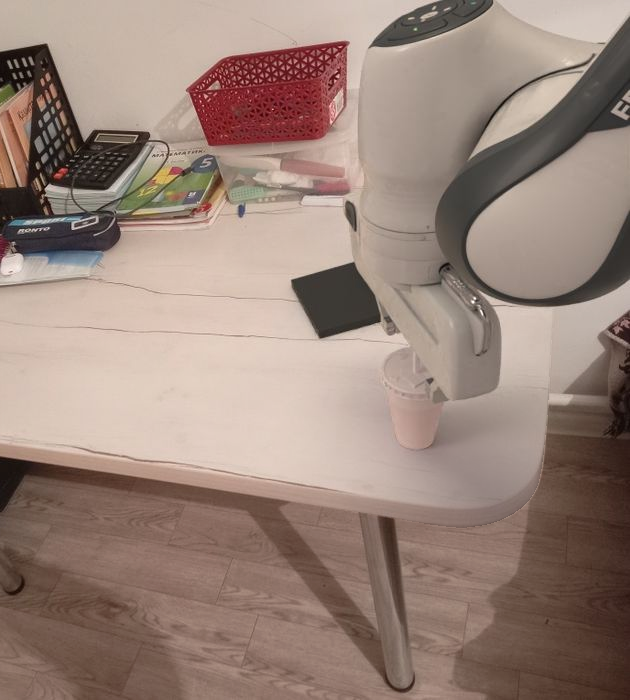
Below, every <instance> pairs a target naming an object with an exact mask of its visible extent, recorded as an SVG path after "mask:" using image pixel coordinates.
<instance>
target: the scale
mask: <svg viewBox="0 0 630 700" xmlns="http://www.w3.org/2000/svg"><path fill="white" fill-rule="evenodd" d="M290 284H291V288H292V290H293V292H294V294H295V295H296V297H297V300H298V301H299V303H300V305H301V306H302V308H303V310H304V312H305V315H306V316H307V318H308V319H309V322H310V323H311V325H312V327H313V329H314V331H315V332H316V334H317V337H318V338H319V339H323V338H327V337H330V336H333V335H337V334H341V333H345V332H348V331H351V330H354V329H355V330H356V329H359V328H362V327H365V326H369V325H373V324H378V323H381V314H380V311H379V308H378V304H377V301H376V297H375V295H374V293H373V292H372V290H371V289H370V288H369V286H368V285H367V283H366V282H365V280H364V279H363V278H362V276H361V275H360V273H359V272H358V270H357V268H356V265H355V263H354V261H352V262H348V263H345V264H341V265H338V266H334V267H331V268H327V269H324V270H320V271H316V272H313V273H309V274H306V275H303V276H298V277H296V278H295V277H294V278H292V279H290Z"/></svg>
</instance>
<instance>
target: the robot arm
mask: <svg viewBox="0 0 630 700" xmlns="http://www.w3.org/2000/svg"><path fill="white" fill-rule="evenodd" d="M357 106H358V107H357V155H358V160H359V164H360V166H361V168H362V172H363V185H362V188H361V189H357V190H355V191H352V192H349V193H346V194H344V195H343V196H342V211H343V215H344V217H345V218H346V220H347V222H348V230H349V240H350V246H351V254H352V255H351V256H352V259H353V262H354V263H355V265H356V268H357V270H358V272H359V273H360V275H361V276H362V278H363V279H364V280H365V282H366V283H367V285H368V286H369V288H370V289H371V290H372V292H373V293H374V295H375V297H376V301H377V304H378V308H379V311H380V314H381V321H380V326H381V328H382V329H383V331H384V332H385V333H386V335H387V336H389V337H390V336H391V337H392V336H394V335H396V334H397V335H399V334H401V335H402V336H403V337H404V339H405V340H406V342H407V343H408V345H409V347H412V349H413V350H414V352H415V353H416V355H417V356H418V357H419V359H420V360H421V362H422V363H423V365H424V366H425V367H426V369H427V370H428V372H429V373H430V374H431V376H432V378H429V379H426V380H425V386H426V388H425V391H426V393H427V394H428V396H429V397H430V399H431V401H432V402H433V403H435V404H437V403H441V402H444V403H446V402H448V401H452V402H457V401H463V400H464V401H465V400H469V399H473V398H478V397H481V396H484V395H486V394H490V393H491V392H493V391H495V390H496V389H497V388H498V387H499V384H500V379H501V367H502V365H501V364H502V349H503V347H502V344H503V343H502V339H503V337H502V328H501V327H502V326H501V321H500V318H499V315H498V313H497V311H496V309H495V308H494V307H493V305H492V304H491V302H490V301H489V300H488V299H487V298H486V297H485V296H484V295H486V296H488V297H490V298H492V299H495V300H498V301H500V302H503V303H507V304H512V305H517V306H522V307H533V308H555V307H566V306H570V305H577V304H582V303H587V302H590V301H593V300H595V299H596V300H597V299H598V298H601V297H604V296H607V295H608V294H610V293H612V292H614V291H616V290H618V289H619V288H621V287H622V286H623V285H625V284H626V283H628V282H629V281H630V11H629V12H628V14H627V15H626V16H625V18H624V19H623V20H622V21H621V23H620V24H619V25H618V26H617V28H616V29H615V30H614V32H613V33H612V34H611V35H610V37H609V38H608V39H607V41H606V42H591V41H587V40H581V39H576V38H572V37H568V36H565V35H564V36H563V35H560V34H557V33H554V32H550V31H549V30H545V29H542V28H540V27H537V26H535V25H532V24H530V23H528V22H526V21H524V20H522V19H520V18H518V17H516V16H515V15H513V14H512V13H510V12H509V11H508V10H507V9H505V7H504V6H503V5H502V4H500V2H498V0H437V1H433V2H430V3H427V4H425V5H421V6H419V7H417V8H415V9H414V10H412V11H410V12H407V13H405V14H402V15H400V16H399V17H397V18H396V19H395V20H393V21H392V22H391V23H390V24H388V25H387V26H386V27H385V28H384V29H383V30H381V32H380V33H378V34H377V36H376V37H375V38H374V39H373V41H372V42H371V44H370V45H368V48H367V49H366V51H365V54H364V57H363V61H362V65H361V71H360V79H359V89H358V105H357ZM482 293H483V294H484V295H483V294H482Z"/></svg>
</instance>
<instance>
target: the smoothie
mask: <svg viewBox="0 0 630 700" xmlns="http://www.w3.org/2000/svg"><path fill="white" fill-rule="evenodd" d="M380 366H381V367H380V381H381V383H382V385H383V387H384V388H385V390H386V395H387V399H388V405H389V409H390V414H391V419H392V424H393V430H394V434H395V439H396V440H397V442H398V443H399V445H401V446H402V447H404V448H406V449H408V450H414V451H419V450H424V449H427V448H428V447H430V446H431V445H432V444H433V443H434V441H435V438H436V434H437V430H438V428H439V427H438V426H439V424H440V419H441V415H442V412H443V408H444V404H445V402H441V403H437V404H435V403H433V402H432V401H431V399H430V397H429V396H428V394H427V393H426V391H425V388H426V386H425V380H426V379H429V378H432V376H431V374H430V373H429V372H428V370H427V369H426V367H425V366H424V365H423V363H422V362H421V360H420V359H419V357H418V356H417V355H416V353H415V352H414V350H413V349H412V347H411V346H407V347H403V348H402V347H401V348H399V349H397V350H394V351H392V352H391V353H389V354H388V355H387V356H386V357H385V358H384V360H383V361H382V363H381V365H380Z"/></svg>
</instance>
